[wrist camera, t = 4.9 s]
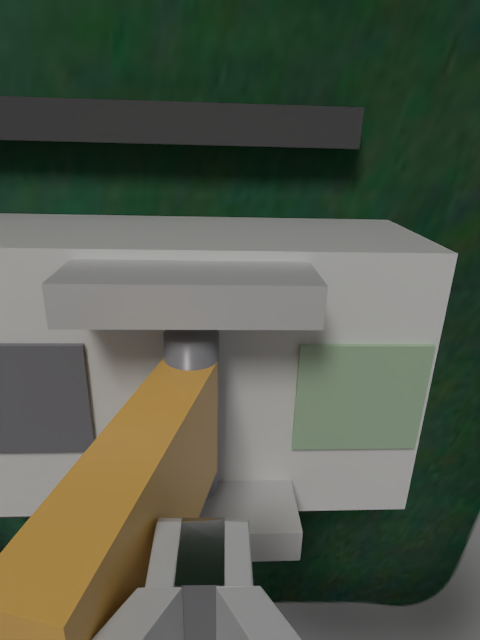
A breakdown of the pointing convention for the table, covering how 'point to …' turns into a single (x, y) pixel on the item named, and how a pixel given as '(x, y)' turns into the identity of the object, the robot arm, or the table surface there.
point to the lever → (117, 501)
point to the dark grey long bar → (179, 123)
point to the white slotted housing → (225, 352)
